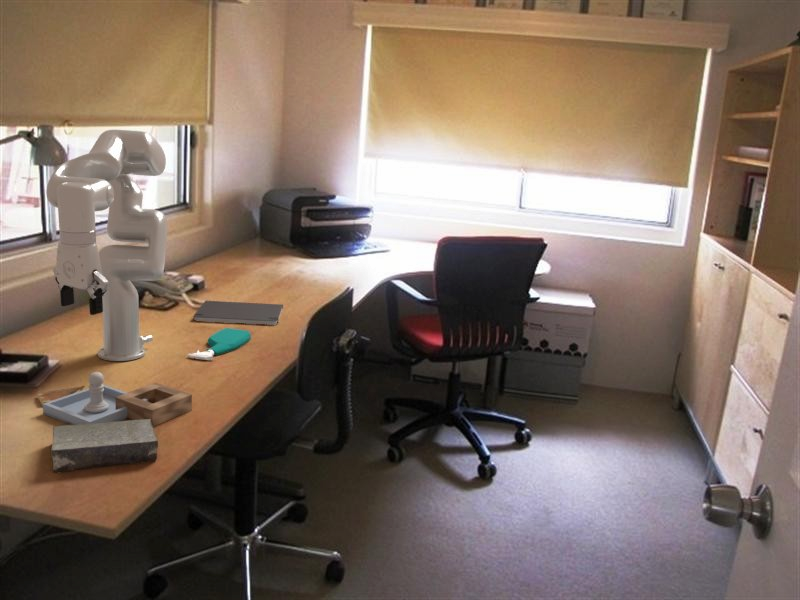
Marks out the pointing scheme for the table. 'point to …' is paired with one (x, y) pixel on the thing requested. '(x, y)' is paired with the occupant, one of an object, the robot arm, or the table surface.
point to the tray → (74, 412)
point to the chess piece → (96, 394)
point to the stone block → (103, 445)
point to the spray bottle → (223, 343)
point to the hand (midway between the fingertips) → (82, 309)
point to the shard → (57, 394)
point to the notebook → (239, 312)
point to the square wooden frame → (155, 403)
